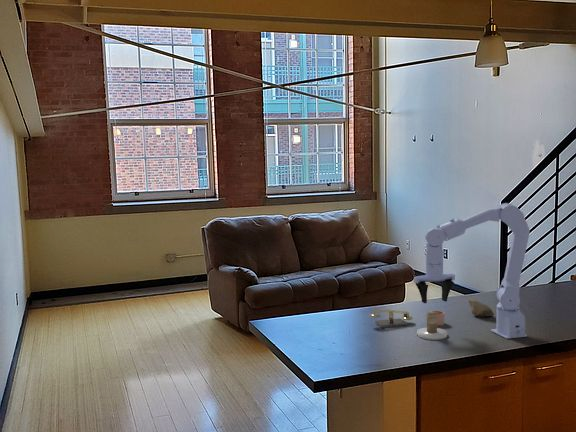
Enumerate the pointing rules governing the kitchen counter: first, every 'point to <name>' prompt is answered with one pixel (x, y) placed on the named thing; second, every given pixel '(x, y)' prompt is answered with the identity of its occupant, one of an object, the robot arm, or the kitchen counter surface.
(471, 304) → the fossil
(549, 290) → the kitchen counter surface
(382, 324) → the balance
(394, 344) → the kitchen counter surface
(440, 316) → the sleeve
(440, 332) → the white glossy domed part
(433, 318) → the peg
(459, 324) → the kitchen counter surface
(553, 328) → the kitchen counter surface
